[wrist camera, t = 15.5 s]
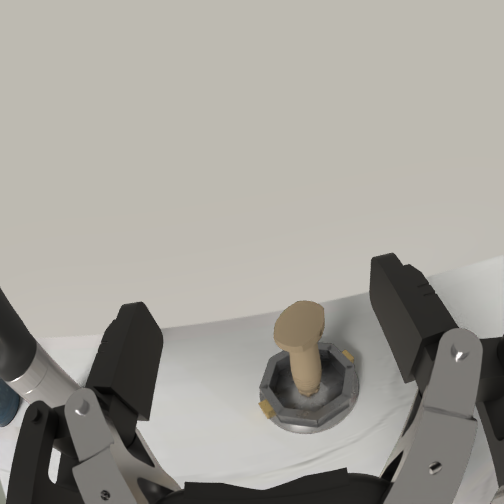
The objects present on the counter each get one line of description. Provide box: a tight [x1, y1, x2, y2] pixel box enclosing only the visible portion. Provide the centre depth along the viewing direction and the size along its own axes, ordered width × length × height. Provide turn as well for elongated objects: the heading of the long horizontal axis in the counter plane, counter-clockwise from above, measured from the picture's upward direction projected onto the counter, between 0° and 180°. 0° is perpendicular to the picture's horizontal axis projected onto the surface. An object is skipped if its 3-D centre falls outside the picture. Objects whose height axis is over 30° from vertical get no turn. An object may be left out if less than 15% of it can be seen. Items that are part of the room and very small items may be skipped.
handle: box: [274, 301, 325, 397], centre depth 33 cm, size 5×6×15 cm
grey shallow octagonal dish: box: [258, 343, 359, 434], centre depth 37 cm, size 15×14×4 cm
